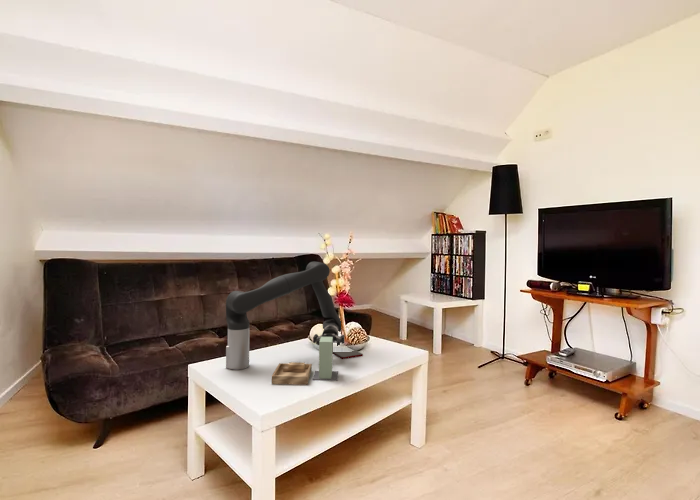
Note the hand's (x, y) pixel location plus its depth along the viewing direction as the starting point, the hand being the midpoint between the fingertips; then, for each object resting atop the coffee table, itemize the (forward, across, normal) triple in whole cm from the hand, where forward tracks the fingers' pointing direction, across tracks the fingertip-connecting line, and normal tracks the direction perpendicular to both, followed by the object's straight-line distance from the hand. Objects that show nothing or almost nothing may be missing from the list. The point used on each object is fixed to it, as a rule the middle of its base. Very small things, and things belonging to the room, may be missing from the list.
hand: (327, 343), depth 168 cm
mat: (+9, 0, +11) cm, 14 cm away
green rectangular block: (+9, 0, +11) cm, 14 cm away
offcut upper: (+7, -12, +8) cm, 17 cm away
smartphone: (-26, +5, +12) cm, 30 cm away
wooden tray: (+12, -14, +11) cm, 21 cm away
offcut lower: (+7, -14, +10) cm, 18 cm away
